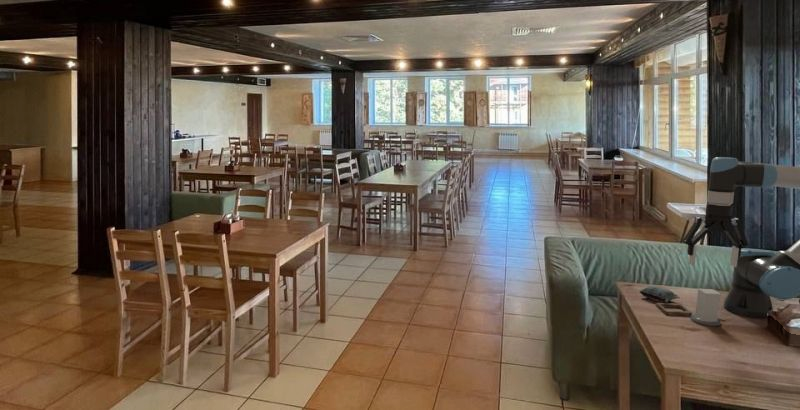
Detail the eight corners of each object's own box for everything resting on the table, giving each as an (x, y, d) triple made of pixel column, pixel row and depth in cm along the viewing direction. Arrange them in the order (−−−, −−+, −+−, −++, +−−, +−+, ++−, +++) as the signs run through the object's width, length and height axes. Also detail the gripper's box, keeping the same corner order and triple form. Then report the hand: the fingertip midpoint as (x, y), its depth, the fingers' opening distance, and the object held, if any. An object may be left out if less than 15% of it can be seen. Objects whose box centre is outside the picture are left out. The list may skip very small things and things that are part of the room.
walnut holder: (680, 307, 198) (681, 303, 198) (691, 315, 190) (692, 312, 189) (655, 305, 199) (656, 302, 199) (665, 314, 190) (665, 311, 190)
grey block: (709, 316, 187) (713, 289, 185) (717, 322, 182) (720, 294, 180) (695, 315, 187) (698, 288, 186) (701, 321, 182) (705, 293, 181)
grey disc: (712, 316, 189) (712, 314, 189) (725, 326, 180) (725, 324, 180) (685, 315, 190) (686, 313, 190) (697, 325, 181) (698, 323, 181)
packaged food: (651, 293, 214) (652, 281, 213) (679, 302, 204) (681, 290, 203) (637, 297, 209) (639, 285, 208) (666, 306, 199) (667, 294, 198)
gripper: (752, 202, 181) (744, 263, 184) (676, 200, 183) (669, 260, 186) (765, 206, 173) (757, 269, 177) (685, 204, 175) (679, 266, 179)
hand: (712, 265), depth 182 cm, fingers open, 13 cm apart
